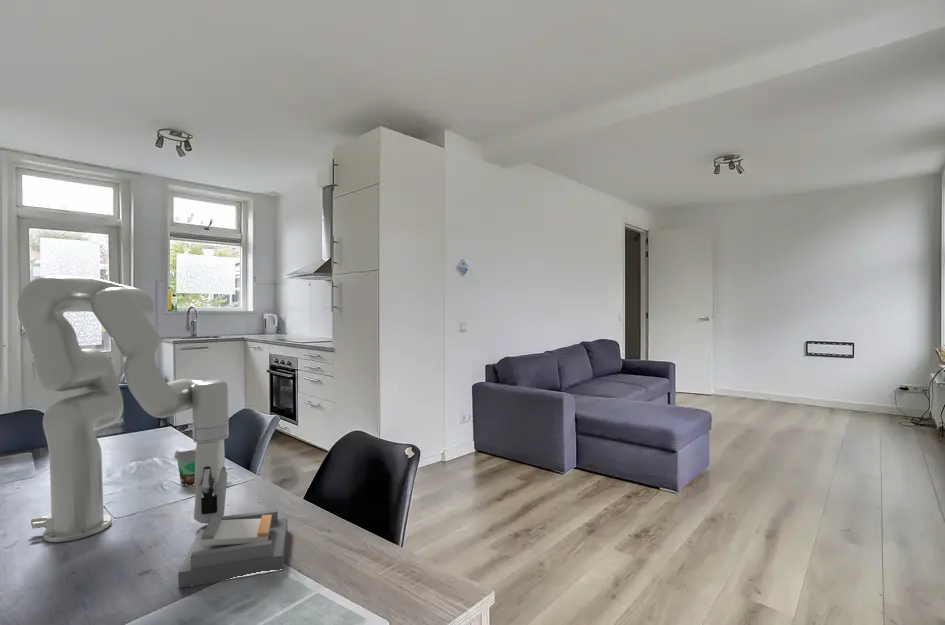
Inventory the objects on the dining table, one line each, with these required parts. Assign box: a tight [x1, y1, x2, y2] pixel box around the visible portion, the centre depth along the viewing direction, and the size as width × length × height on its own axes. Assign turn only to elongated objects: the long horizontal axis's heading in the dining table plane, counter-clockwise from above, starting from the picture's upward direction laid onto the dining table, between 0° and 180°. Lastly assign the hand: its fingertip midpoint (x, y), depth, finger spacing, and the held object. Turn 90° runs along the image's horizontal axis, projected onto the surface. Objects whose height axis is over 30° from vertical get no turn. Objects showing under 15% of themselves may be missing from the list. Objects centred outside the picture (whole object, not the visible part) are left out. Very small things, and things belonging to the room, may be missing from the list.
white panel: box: [201, 515, 272, 546], centre depth 101 cm, size 12×9×2 cm
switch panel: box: [177, 509, 288, 589], centre depth 101 cm, size 18×18×6 cm
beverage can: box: [193, 466, 228, 524], centre depth 116 cm, size 6×6×12 cm
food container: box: [173, 448, 196, 486], centre depth 144 cm, size 12×6×10 cm, turn 117°
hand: (212, 506), depth 116 cm, fingers closed on beverage can, 6 cm apart
